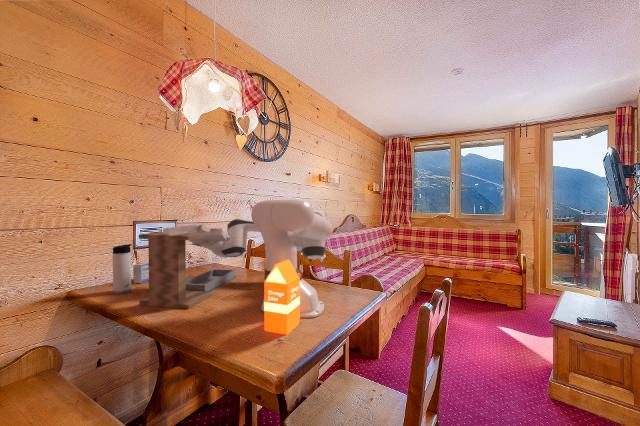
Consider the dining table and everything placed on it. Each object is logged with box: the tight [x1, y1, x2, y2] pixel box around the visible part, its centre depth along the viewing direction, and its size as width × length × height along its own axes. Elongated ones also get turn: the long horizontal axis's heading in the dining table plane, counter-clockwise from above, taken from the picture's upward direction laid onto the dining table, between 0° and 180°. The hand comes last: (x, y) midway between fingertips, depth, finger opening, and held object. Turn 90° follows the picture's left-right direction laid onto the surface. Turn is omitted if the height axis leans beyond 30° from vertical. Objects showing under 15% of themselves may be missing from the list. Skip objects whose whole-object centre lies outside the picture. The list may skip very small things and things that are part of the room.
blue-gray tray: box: [186, 268, 237, 292], centre depth 130 cm, size 13×28×4 cm, turn 170°
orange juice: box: [263, 259, 301, 335], centre depth 85 cm, size 8×9×20 cm
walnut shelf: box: [138, 231, 213, 310], centre depth 108 cm, size 20×15×26 cm
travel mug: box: [112, 243, 133, 295], centre depth 118 cm, size 6×7×20 cm
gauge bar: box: [162, 223, 205, 235], centre depth 112 cm, size 2×22×2 cm, turn 170°
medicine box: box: [132, 261, 149, 284], centre depth 135 cm, size 8×4×9 cm, turn 168°
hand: (196, 226), depth 119 cm, fingers open, 3 cm apart
